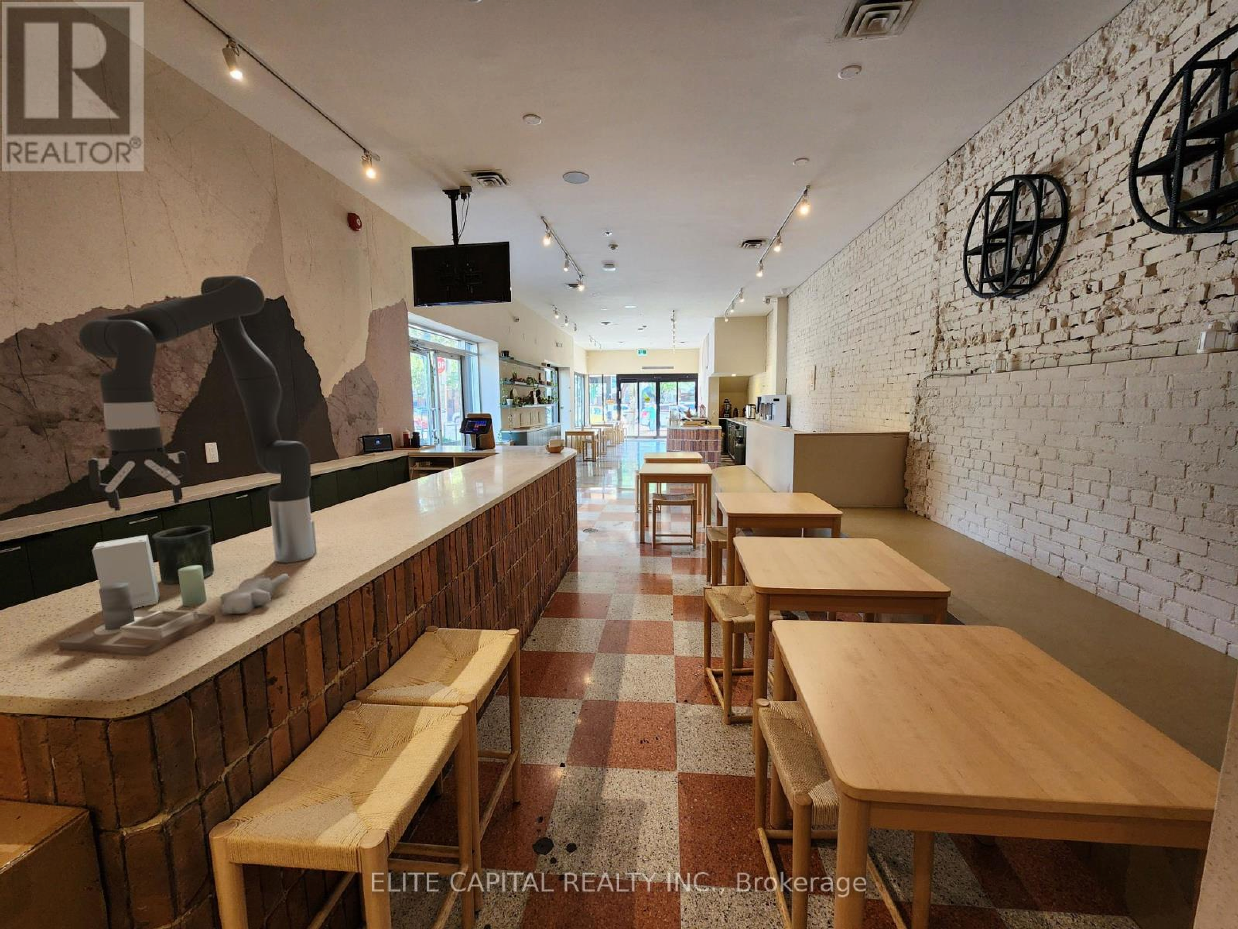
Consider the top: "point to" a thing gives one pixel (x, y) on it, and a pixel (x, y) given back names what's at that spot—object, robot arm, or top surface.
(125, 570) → the skincare box
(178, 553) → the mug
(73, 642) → the board
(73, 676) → the top surface
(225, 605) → the bunny figurine
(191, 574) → the green pin
